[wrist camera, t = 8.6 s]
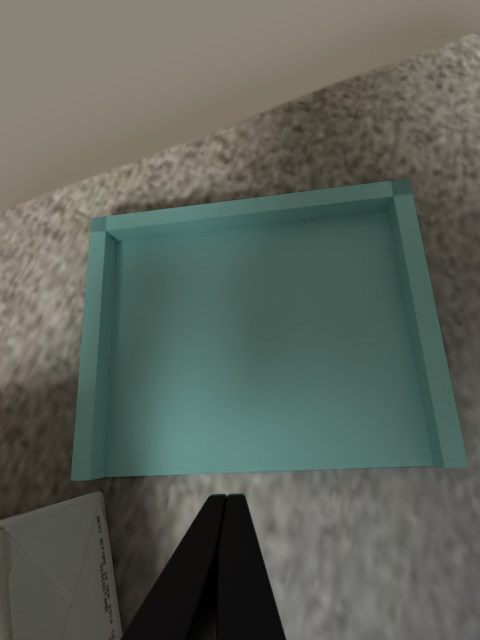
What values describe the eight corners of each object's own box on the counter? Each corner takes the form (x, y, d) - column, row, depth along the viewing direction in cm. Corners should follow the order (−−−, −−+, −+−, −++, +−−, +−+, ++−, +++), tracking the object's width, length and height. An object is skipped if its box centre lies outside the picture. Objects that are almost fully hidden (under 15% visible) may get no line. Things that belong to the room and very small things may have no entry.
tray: (452, 464, 15) (468, 467, 13) (89, 476, 17) (70, 481, 15) (400, 198, 18) (409, 178, 17) (105, 233, 20) (91, 218, 19)
